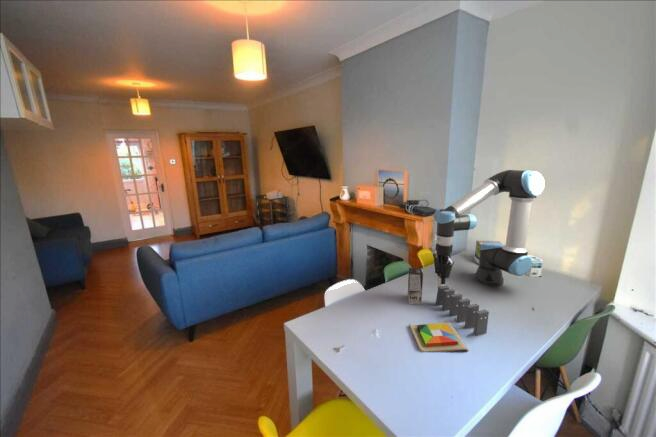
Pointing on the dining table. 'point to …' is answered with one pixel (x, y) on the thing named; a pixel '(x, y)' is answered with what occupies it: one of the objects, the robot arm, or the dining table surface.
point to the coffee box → (415, 285)
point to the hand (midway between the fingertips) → (440, 289)
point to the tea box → (478, 247)
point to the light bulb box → (535, 267)
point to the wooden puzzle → (437, 337)
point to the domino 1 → (440, 295)
